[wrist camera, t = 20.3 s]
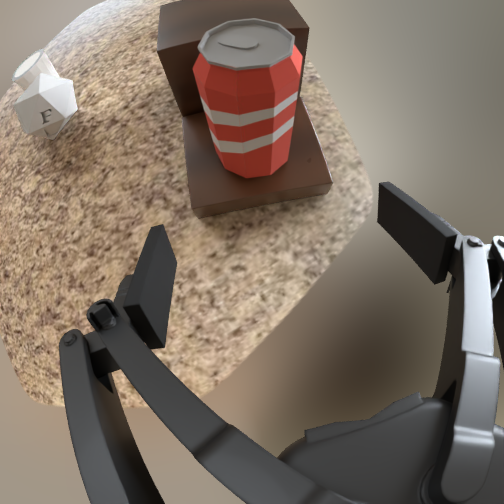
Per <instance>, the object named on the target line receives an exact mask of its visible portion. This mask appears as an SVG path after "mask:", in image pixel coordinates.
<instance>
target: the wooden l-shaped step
mask: <svg viewBox="0 0 504 504" xmlns="http://www.w3.org/2000/svg"><path fill="white" fill-rule="evenodd" d="M252 18H256V19H261V20H265V21H270V22H274V23H278V24H281V25H282V26H283V27H284V28H285V29H287V30H288V31H289V32H290V33H291V34H292V35H294V36H295V40H294V45H295V46H296V48H297V49H298V51H299V52H300V54H301V55H302V65H301V73H300V81H299V88H298V95H297V102H296V109H295V115H294V122H293V129H292V135H291V142H290V148H289V155H288V161H286V162H285V163H284V164H283V165H282V166H281V167H279V168H278V169H277V170H276V171H275V172H274V173H273V174H271V175H267V176H259V177H252V178H245V177H242V176H240V175H238V174H236V173H233V172H231V171H229V170H227V169H225V168H224V166H223V164H222V162H221V160H220V158H219V156H218V154H217V152H216V150H215V146H214V143H213V139H212V136H211V132H210V129H209V125H208V122H207V118H206V115H205V111H204V108H203V104H202V101H201V97H200V94H199V90H198V87H197V83H196V79H195V76H194V72H193V66H194V64H195V62H196V60H197V58H198V56H199V54H200V51H199V50H198V45H199V43H200V41H201V40H202V38H203V36H204V34H205V32H206V31H208V30H210V29H212V28H214V27H216V26H218V25H220V24H223V23H225V22H227V21H233V20H242V19H252ZM308 34H309V27H308V25H307V24H306V22H305V21H304V19H303V18H302V17H301V16H300V14H299V13H298V11H297V10H296V9H295V7H294V6H293V5H292V3H291V2H290V1H289V0H180V1H176V2H172V3H169V4H165V5H161V6H160V15H159V26H158V40H157V53H158V56H159V58H160V61H161V63H162V66H163V69H164V71H165V74H166V76H167V79H168V81H169V84H170V86H171V89H172V92H173V94H174V97H175V99H176V102H177V104H178V107H179V109H180V112H181V114H182V128H183V138H184V148H185V158H186V167H187V176H188V184H189V192H190V200H191V207H192V210H193V211H194V213H195V214H196V216H197V217H198V218H202V217H207V216H212V215H216V214H221V213H226V212H231V211H236V210H241V209H246V208H251V207H256V206H261V205H266V204H271V203H277V202H282V201H288V200H293V199H299V198H305V197H311V196H316V195H322V194H327V193H328V191H329V190H330V188H331V186H332V184H333V180H332V177H331V174H330V171H329V168H328V165H327V162H326V159H325V156H324V154H323V151H322V148H321V145H320V142H319V140H318V137H317V134H316V132H315V129H314V126H313V124H312V121H311V119H310V116H309V114H308V111H307V109H306V106H305V104H304V101H303V99H302V97H299V96H300V90H301V83H302V77H303V70H304V63H305V56H306V49H307V42H308Z"/></svg>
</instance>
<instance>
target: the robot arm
mask: <svg viewBox="0 0 504 504" xmlns="http://www.w3.org/2000/svg"><path fill="white" fill-rule="evenodd" d="M377 222H378V223H379V224H380V225H381V226H382V227H383V228H384V229H385V230H386V231H387V232H388V233H389V234H390V235H391V237H392V238H393V239H394V240H395V241H396V242H397V243H398V244H399V245H400V246H401V247H402V248H403V249H404V250H405V251H406V252H407V254H408V255H409V256H410V257H411V258H412V259H413V260H414V261H415V263H416V264H418V266H419V267H420V268H421V269H422V271H423V272H424V273H425V274H426V275H427V276H428V278H429V279H430V280H431V281H432V282H433V283H434V284H438V283H440V282H443V281H445V279H446V276H447V272H448V271H449V272H450V273H451V274H452V278H451V281H450V284H449V287H448V290H447V293H449V290H450V296H449V309H448V320H447V328H446V336H445V343H444V349H443V355H442V361H441V366H440V372H439V376H438V381H437V385H436V389H435V392H434V395H433V397H432V398H431V397H426V398H421V396H420V394H419V392H416V393H414V394H412V395H410V396H407V397H405V398H403V399H400V400H398V401H395V402H393V403H392V404H391V405H389V406H388V407H386V408H385V409H384V410H382V411H381V412H379V413H377V414H376V415H374V416H373V417H371V418H370V419H367V420H360V421H347V422H334V423H331V424H327V425H323V426H320V427H316V428H312V429H308V430H305V437H303V438H301V439H299V440H297V441H296V442H294V443H292V444H291V445H290V446H288V447H287V448H286V449H285V450H284V451H283V452H282V453H281V454H280V455H279V456H278V457H277V458H276V457H275V456H273V455H272V454H271V453H269V452H268V451H266V450H265V449H264V448H262V447H261V446H260V445H258V444H257V443H255V442H254V441H253V440H252V439H250V438H249V437H248V436H246V435H245V434H244V433H242V432H241V431H240V430H239V429H237V428H236V427H234V426H233V425H231V424H228V423H226V422H225V421H224V420H223V419H222V418H220V417H219V416H218V415H217V414H216V413H215V412H214V411H212V410H211V409H210V408H209V407H208V406H207V405H206V404H205V403H203V402H202V401H201V400H200V399H199V398H198V397H197V396H196V395H195V394H194V393H193V392H192V391H190V390H189V389H188V388H187V387H186V386H185V385H184V384H183V383H182V382H181V381H180V380H179V379H178V378H177V377H176V376H175V375H174V374H173V373H172V372H171V371H170V370H169V369H168V368H167V367H166V366H165V365H164V364H163V363H162V362H161V361H160V359H159V358H158V357H157V356H156V355H155V354H154V353H153V352H152V351H151V350H150V349H158V348H165V342H166V334H167V326H168V319H169V312H170V305H171V298H172V291H173V285H174V279H175V273H176V267H177V261H176V258H175V255H174V253H173V250H172V247H171V245H170V242H169V239H168V236H167V234H166V231H165V228H164V225H163V224H162V225H158V226H154V227H151V229H150V231H149V234H148V236H147V239H146V241H145V244H144V247H143V249H142V252H141V255H140V257H139V260H138V263H137V265H136V268H135V271H134V274H132V275H127V276H126V277H125V278H124V279H123V280H122V281H121V283H120V285H119V288H118V291H117V293H116V297H115V299H114V302H112V301H111V300H110V299H101V300H99V301H97V302H95V303H94V304H93V305H91V306H90V308H89V309H88V311H87V314H86V316H87V319H88V321H89V322H90V323H91V325H92V326H93V328H94V329H95V331H93V332H90V333H88V334H86V335H83V334H82V333H81V331H80V330H78V329H73V330H70V331H68V332H67V333H65V334H64V335H63V337H62V338H61V340H60V343H59V354H60V368H61V378H62V387H63V395H64V402H65V408H66V414H67V420H68V425H69V430H70V435H71V439H72V444H73V448H74V452H75V456H76V459H77V463H78V467H79V470H80V474H81V477H82V480H83V483H84V486H85V489H86V492H87V495H88V498H89V500H90V503H91V504H165V503H164V501H163V499H162V497H161V495H160V493H159V491H158V489H157V488H156V486H155V484H154V482H153V480H152V478H151V476H150V474H149V472H148V469H147V467H146V465H145V463H144V461H143V459H142V456H141V454H140V452H139V450H138V447H137V445H136V442H135V440H134V438H133V435H132V432H131V430H130V427H129V425H128V422H127V419H126V417H125V414H124V411H123V408H122V405H121V402H120V399H119V396H118V393H117V390H116V387H115V383H114V380H113V376H112V373H111V372H114V371H116V370H119V369H121V370H122V371H123V373H124V374H125V375H126V377H127V378H128V380H129V381H130V382H131V384H132V385H133V386H134V388H135V389H136V390H137V392H138V393H139V394H140V395H141V397H142V398H143V399H144V400H145V402H146V403H147V404H148V405H149V407H150V408H151V409H152V410H153V412H154V413H155V414H156V415H157V416H158V417H159V419H160V420H161V421H162V422H163V423H164V424H165V425H166V427H167V428H168V429H169V430H170V431H171V432H172V433H173V434H174V435H175V436H176V438H177V439H178V440H179V441H180V442H181V443H182V444H183V445H184V446H185V447H186V448H187V449H188V450H189V451H190V452H191V453H192V454H193V456H194V458H195V459H196V460H197V461H198V462H199V463H200V464H201V465H202V466H203V467H204V468H205V469H206V470H207V471H208V472H210V473H211V474H212V475H213V476H214V477H215V478H216V479H217V480H218V481H220V482H221V483H222V484H223V485H224V486H225V487H227V488H228V489H229V490H230V491H231V492H233V493H234V494H235V495H236V496H237V497H239V498H240V499H241V500H242V501H244V502H245V503H246V504H504V428H503V427H500V426H498V425H496V424H495V418H496V411H497V403H498V393H499V379H500V360H499V358H498V357H494V355H493V346H494V345H493V343H494V342H493V341H494V337H493V324H494V328H495V332H496V336H497V340H498V344H499V348H500V353H501V358H502V363H503V368H504V237H503V236H495V237H493V240H492V243H491V244H483V242H482V241H481V240H480V239H478V238H477V237H474V236H469V235H468V236H463V235H462V234H461V233H459V232H458V231H457V230H456V229H455V228H454V227H453V226H450V224H449V223H448V222H446V221H445V220H444V219H443V218H441V217H440V216H438V215H436V214H434V213H431V212H430V211H428V210H427V209H426V208H425V207H423V206H422V205H421V204H419V203H418V202H417V201H415V200H414V199H413V198H411V197H410V196H409V195H407V194H406V193H404V192H403V191H401V190H400V189H399V188H397V187H396V186H394V185H393V184H392V183H390V182H383V183H379V200H378V219H377ZM501 278H502V279H501ZM144 342H145V343H146V344H145V343H144Z"/></svg>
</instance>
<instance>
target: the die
mask: <svg viewBox="0 0 504 504" xmlns="http://www.w3.org/2000/svg"><path fill="white" fill-rule="evenodd" d="M14 108H15V111H16V114H17V116H18V119H19V121H20V124H21V127H22V129H23V131H24V133H27V134H30V135H34V136H39V137H43V138H47V139H51V140H54V139H55V137H56V136H57V135H58V133H59V132H60V131H61V130H62V128H63V127H64V126H65V124H66V123H67V122H68V121H69V119H70V118H71V117H72V116H73V114H74V113H75V112H76V111H77V110H78V109H77V104H76V99H75V93H74V88H73V81H72V80H68V79H64V78H60V77H56V76H51V75H47V74H42V73H40V74H39V75H38V76H37V77H36V79H35V80H34V81H33V82H32V83H31V84H30V85H29V87H28V88H27V89H26V90H25V91H24V93H23V94H22V95H21V96H20V98H19V99H18V100H17V101H16V103H15V104H14Z"/></svg>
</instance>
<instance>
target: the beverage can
mask: <svg viewBox="0 0 504 504" xmlns="http://www.w3.org/2000/svg"><path fill="white" fill-rule="evenodd" d="M294 40H295V36H294V35H292V34H291V33H290V32H289V31H288V30H287V29H285V28H284V27H283V26H282V25H281V24H278V23H274V22H270V21H265V20H261V19H256V18H252V19H242V20H233V21H227V22H225V23H223V24H220V25H218V26H216V27H214V28H212V29H210V30H208V31H206V32H205V34H204V36H203V38H202V40H201V41H200V43H199V45H198V50H199V51H200V54H199V56H198V58H197V60H196V62H195V64H194V66H193V72H194V76H195V79H196V83H197V87H198V90H199V94H200V97H201V101H202V104H203V108H204V111H205V115H206V118H207V122H208V125H209V129H210V132H211V136H212V139H213V143H214V146H215V150H216V152H217V154H218V156H219V158H220V160H221V162H222V164H223V166H224V168H225V169H227V170H229V171H231V172H233V173H236V174H238V175H240V176H242V177H245V178H252V177H259V176H267V175H271V174H273V173H274V172H275V171H276V170H277V169H278V168H279V167H281V166H282V165H283V164H284V163H285V162H286V161H288V155H289V148H290V142H291V135H292V129H293V122H294V115H295V109H296V102H297V95H298V88H299V81H300V73H301V65H302V55H301V54H300V52H299V51H298V49H297V48H296V46H295V45H294Z"/></svg>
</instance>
